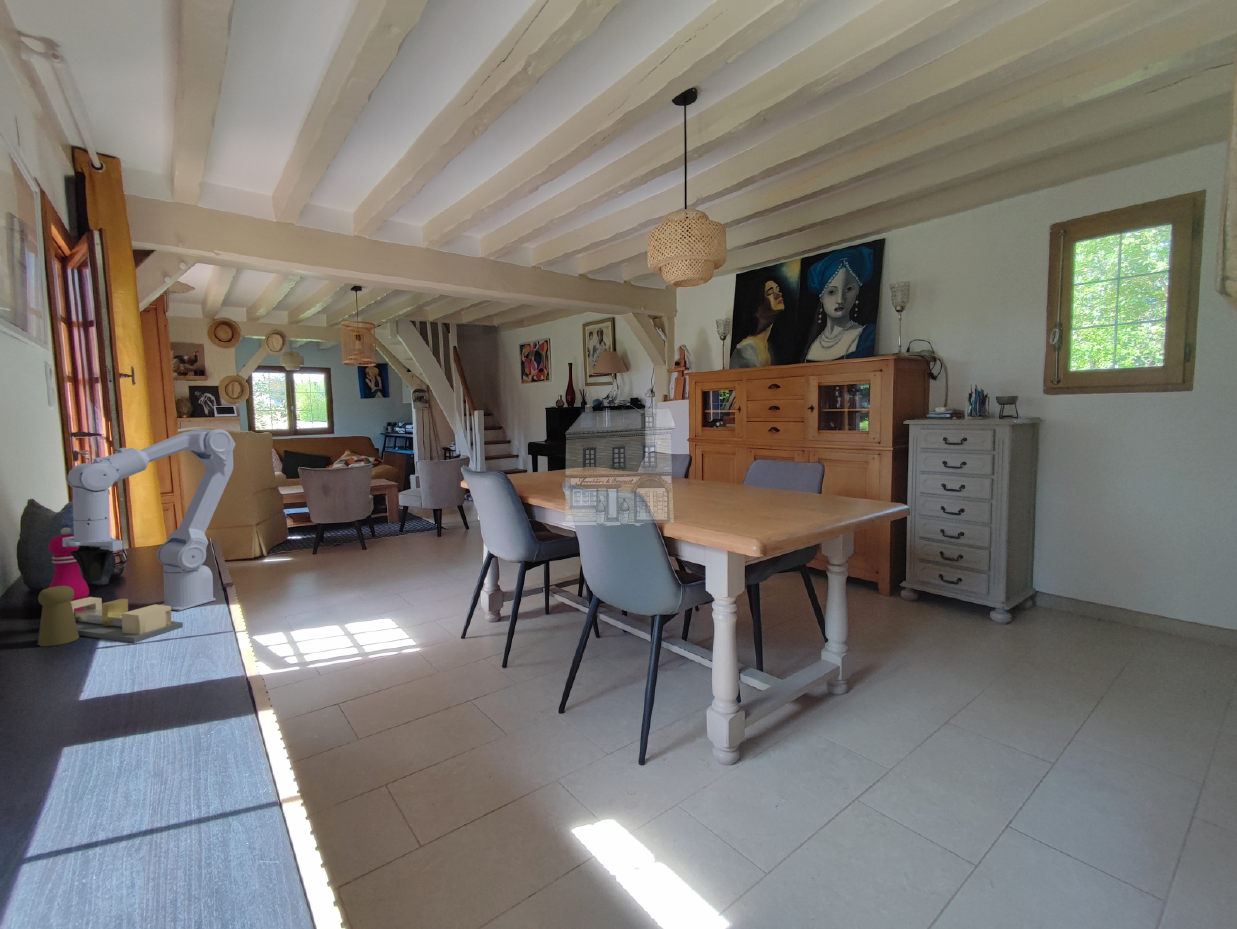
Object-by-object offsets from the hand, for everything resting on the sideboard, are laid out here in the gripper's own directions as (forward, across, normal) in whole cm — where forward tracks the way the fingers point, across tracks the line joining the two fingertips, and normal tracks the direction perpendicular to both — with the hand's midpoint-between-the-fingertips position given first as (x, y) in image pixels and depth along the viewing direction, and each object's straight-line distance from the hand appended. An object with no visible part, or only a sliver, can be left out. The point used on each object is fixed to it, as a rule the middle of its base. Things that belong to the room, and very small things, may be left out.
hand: (93, 581), depth 124 cm
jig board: (+10, +6, 0) cm, 11 cm away
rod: (+9, +2, 0) cm, 9 cm away
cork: (+10, +3, -8) cm, 14 cm away
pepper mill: (+10, -16, +5) cm, 19 cm away
